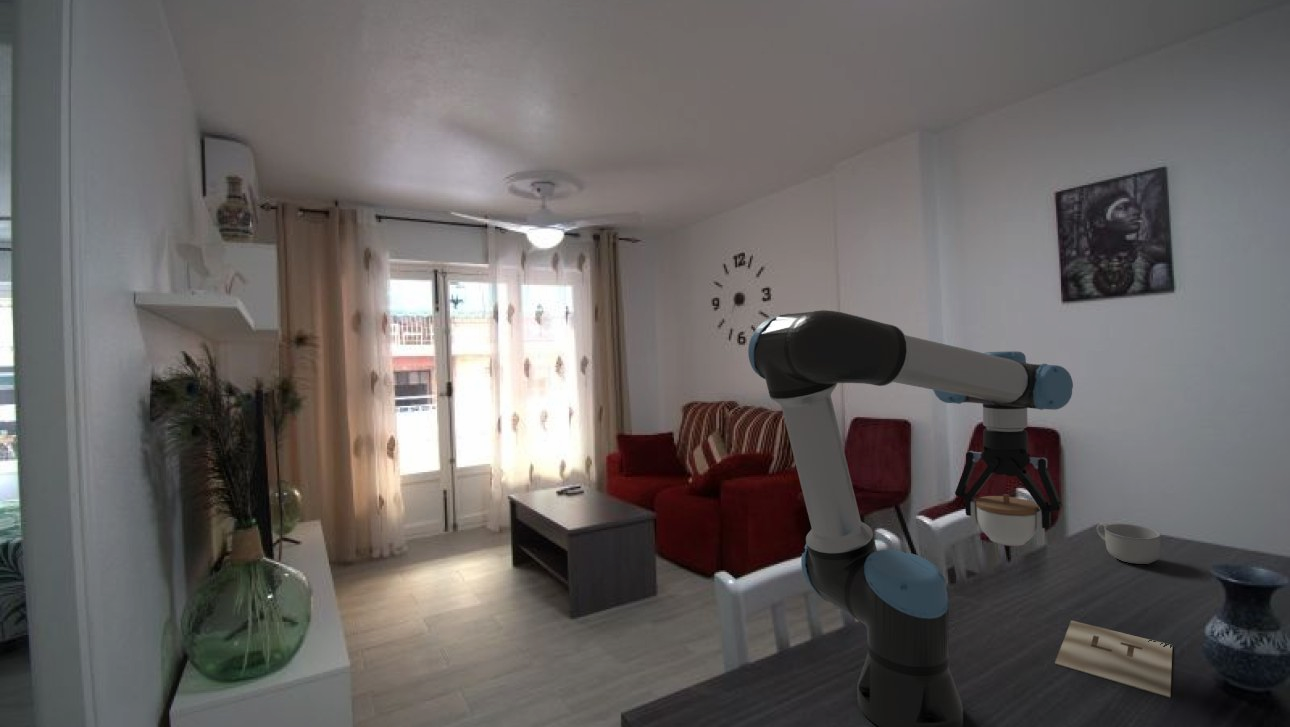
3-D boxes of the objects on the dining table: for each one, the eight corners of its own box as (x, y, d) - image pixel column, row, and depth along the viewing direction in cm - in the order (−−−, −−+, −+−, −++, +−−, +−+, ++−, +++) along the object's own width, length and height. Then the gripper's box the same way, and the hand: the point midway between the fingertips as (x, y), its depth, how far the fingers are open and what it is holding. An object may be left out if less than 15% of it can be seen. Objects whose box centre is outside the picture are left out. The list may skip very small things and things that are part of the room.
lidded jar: (1049, 551, 108) (1049, 502, 107) (987, 549, 110) (986, 501, 110) (1025, 533, 118) (1024, 488, 118) (968, 531, 120) (967, 487, 120)
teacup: (1173, 568, 138) (1172, 535, 138) (1129, 570, 138) (1129, 537, 138) (1123, 548, 152) (1123, 518, 152) (1084, 549, 152) (1083, 520, 152)
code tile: (1170, 697, 90) (1170, 696, 90) (1054, 663, 100) (1054, 662, 100) (1172, 646, 104) (1172, 644, 104) (1071, 621, 115) (1071, 620, 115)
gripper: (1080, 430, 108) (1081, 545, 109) (947, 422, 124) (949, 522, 125) (1073, 435, 103) (1075, 556, 103) (936, 426, 119) (938, 530, 119)
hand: (1006, 537), depth 114 cm, fingers closed on lidded jar, 11 cm apart
